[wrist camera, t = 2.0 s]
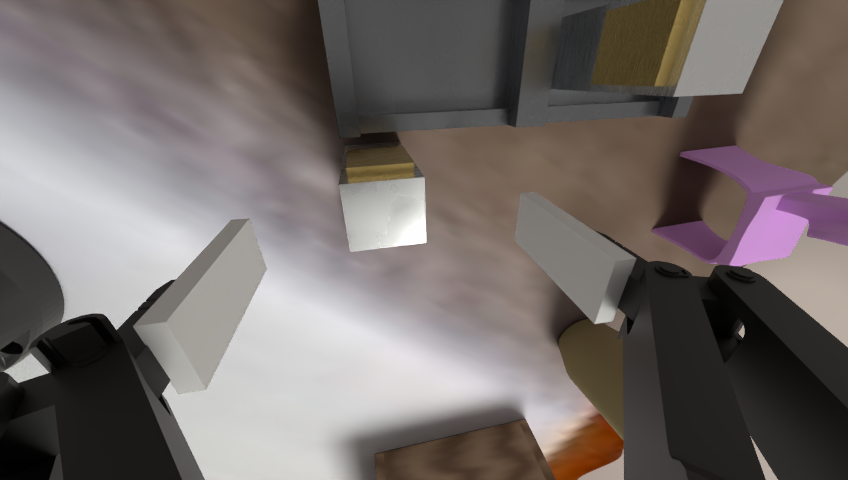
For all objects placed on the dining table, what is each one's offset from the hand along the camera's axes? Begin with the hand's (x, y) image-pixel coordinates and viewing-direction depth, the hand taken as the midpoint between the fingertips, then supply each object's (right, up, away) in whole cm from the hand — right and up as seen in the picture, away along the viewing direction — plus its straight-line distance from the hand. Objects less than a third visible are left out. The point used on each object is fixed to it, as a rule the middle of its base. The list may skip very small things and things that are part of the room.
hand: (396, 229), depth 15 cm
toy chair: (+28, +4, +15) cm, 32 cm away
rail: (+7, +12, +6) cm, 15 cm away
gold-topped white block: (-2, +3, +9) cm, 10 cm away
